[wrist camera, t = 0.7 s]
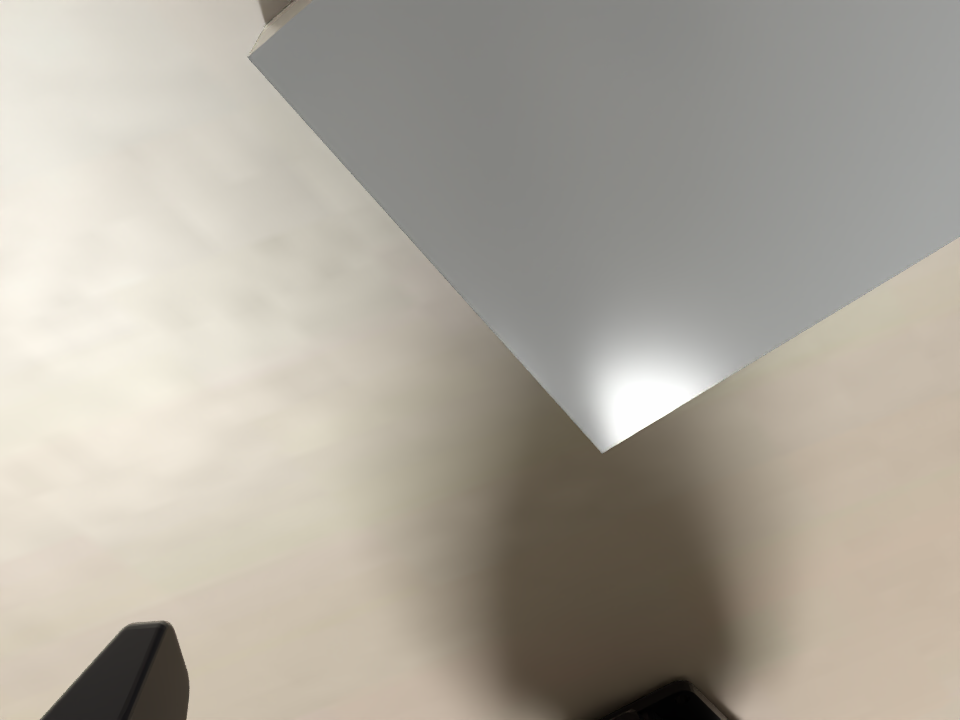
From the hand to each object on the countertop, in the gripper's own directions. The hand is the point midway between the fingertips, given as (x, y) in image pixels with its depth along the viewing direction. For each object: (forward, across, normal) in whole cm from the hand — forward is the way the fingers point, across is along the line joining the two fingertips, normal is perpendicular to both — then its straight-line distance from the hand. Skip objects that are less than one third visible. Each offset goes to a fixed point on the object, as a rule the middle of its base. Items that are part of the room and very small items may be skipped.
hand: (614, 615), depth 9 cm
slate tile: (+13, -4, -2) cm, 14 cm away
